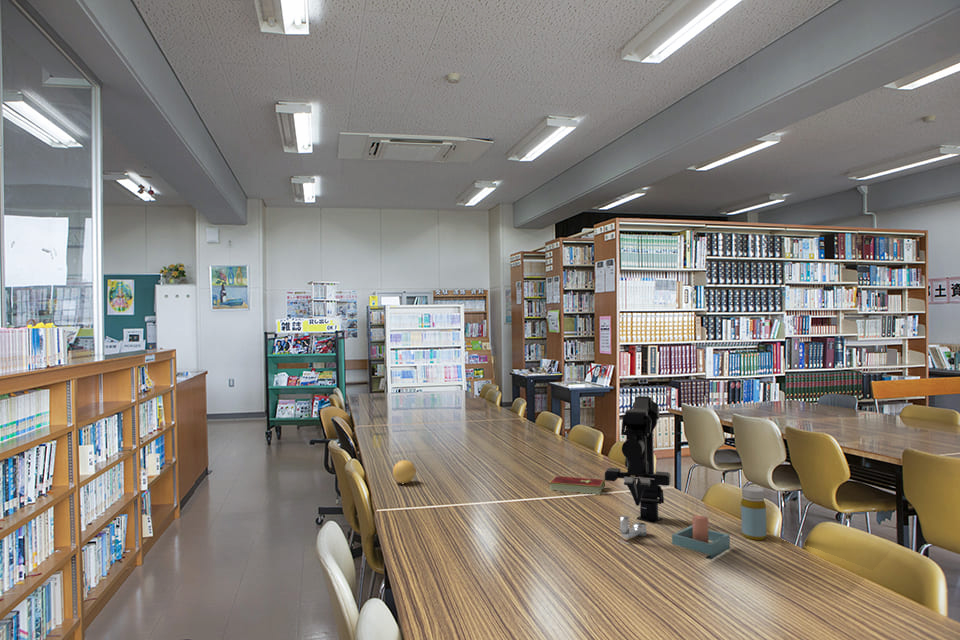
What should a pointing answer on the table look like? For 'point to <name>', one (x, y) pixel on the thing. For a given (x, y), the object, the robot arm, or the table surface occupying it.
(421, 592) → the table surface
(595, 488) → the hardcover book
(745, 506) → the bottle
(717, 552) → the tray
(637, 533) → the crank
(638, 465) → the robot arm
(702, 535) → the pin
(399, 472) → the stress ball
